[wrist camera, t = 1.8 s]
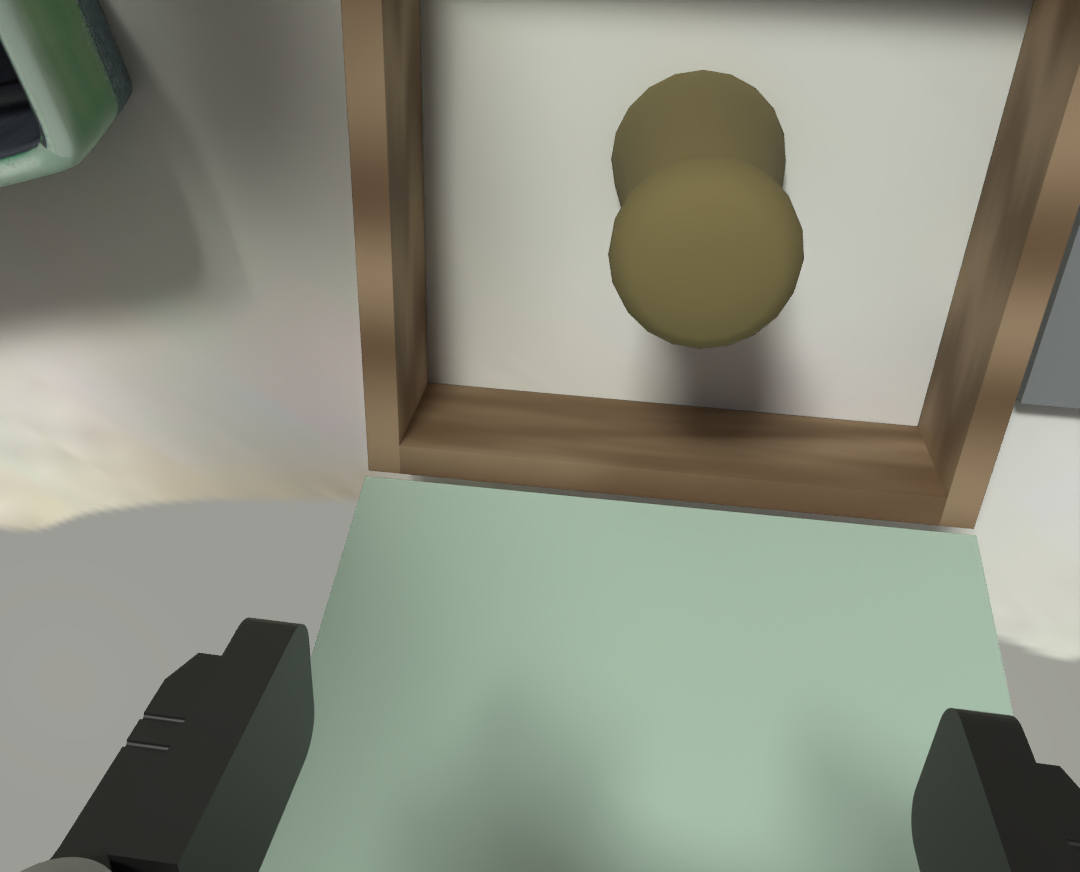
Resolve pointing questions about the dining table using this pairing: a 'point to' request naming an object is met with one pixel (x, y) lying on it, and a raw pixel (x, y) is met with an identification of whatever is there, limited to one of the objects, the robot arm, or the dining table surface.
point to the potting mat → (1058, 338)
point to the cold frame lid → (629, 687)
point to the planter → (55, 85)
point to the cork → (703, 211)
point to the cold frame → (697, 432)
